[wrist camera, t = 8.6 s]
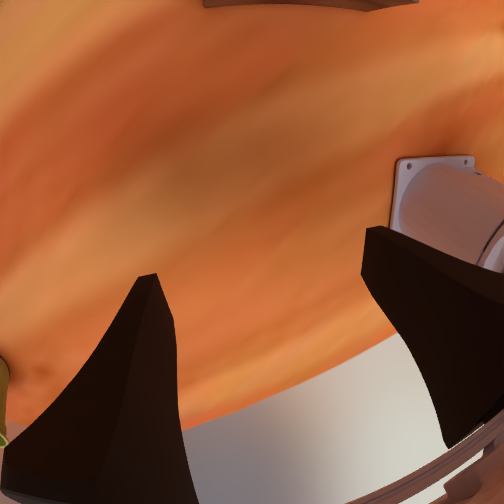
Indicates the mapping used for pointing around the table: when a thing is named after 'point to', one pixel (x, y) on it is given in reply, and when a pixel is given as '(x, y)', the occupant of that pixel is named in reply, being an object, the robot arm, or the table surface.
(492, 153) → the table surface
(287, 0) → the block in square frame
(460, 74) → the table surface
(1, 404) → the plant pot
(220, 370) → the table surface
